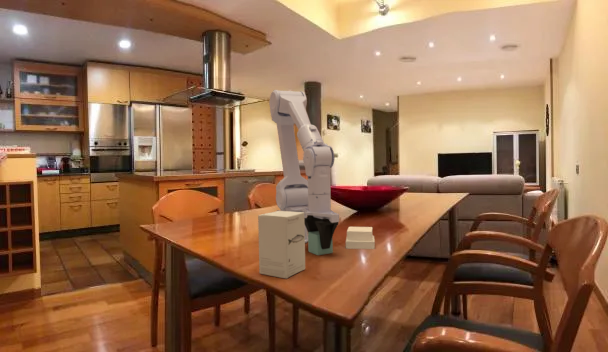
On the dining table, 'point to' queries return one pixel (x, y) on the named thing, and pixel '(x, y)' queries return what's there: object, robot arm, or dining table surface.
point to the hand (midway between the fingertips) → (320, 246)
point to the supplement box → (281, 243)
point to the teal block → (317, 244)
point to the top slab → (359, 234)
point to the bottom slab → (360, 244)
